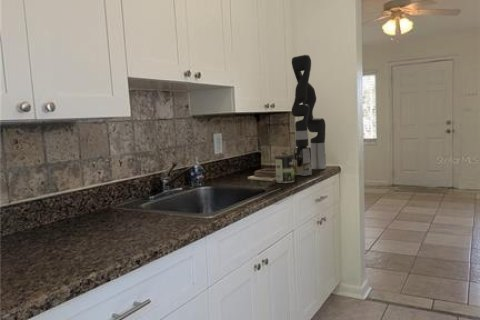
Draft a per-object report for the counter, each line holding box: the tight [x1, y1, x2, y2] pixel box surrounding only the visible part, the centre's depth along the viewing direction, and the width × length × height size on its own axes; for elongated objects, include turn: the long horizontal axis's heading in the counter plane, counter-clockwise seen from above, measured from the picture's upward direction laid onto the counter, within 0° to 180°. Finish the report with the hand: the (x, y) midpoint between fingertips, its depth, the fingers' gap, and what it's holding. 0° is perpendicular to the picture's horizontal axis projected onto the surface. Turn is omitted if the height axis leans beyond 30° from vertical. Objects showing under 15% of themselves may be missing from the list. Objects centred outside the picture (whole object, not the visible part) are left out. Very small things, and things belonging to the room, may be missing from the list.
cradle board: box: [247, 168, 276, 182], centre depth 228 cm, size 20×18×4 cm
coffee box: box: [293, 147, 313, 177], centre depth 229 cm, size 9×6×16 cm
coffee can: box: [274, 154, 296, 184], centre depth 211 cm, size 10×10×14 cm
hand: (302, 165), depth 229 cm, fingers closed on coffee box, 7 cm apart
